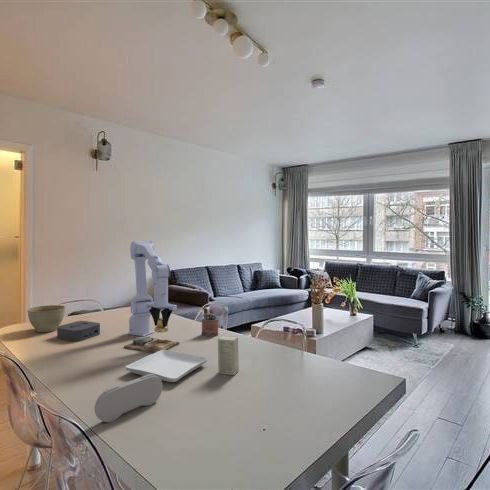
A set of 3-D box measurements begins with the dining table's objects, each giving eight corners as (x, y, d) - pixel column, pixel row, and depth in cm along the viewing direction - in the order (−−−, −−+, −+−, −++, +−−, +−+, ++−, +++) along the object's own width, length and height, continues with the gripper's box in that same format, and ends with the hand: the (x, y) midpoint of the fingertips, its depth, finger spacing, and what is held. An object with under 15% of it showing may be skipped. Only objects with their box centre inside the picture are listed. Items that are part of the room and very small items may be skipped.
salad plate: (209, 365, 130) (209, 356, 130) (175, 388, 111) (175, 378, 111) (163, 356, 139) (163, 348, 139) (123, 376, 120) (123, 366, 120)
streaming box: (80, 330, 175) (80, 320, 174) (102, 334, 169) (102, 323, 169) (54, 338, 161) (54, 327, 161) (77, 342, 156) (77, 331, 155)
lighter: (218, 334, 170) (219, 313, 170) (217, 336, 166) (217, 314, 166) (202, 333, 171) (202, 312, 170) (200, 335, 167) (200, 314, 167)
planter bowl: (72, 328, 177) (72, 307, 176) (38, 336, 163) (38, 313, 163) (54, 324, 185) (53, 303, 185) (21, 331, 172) (20, 309, 171)
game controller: (158, 397, 104) (158, 369, 104) (162, 400, 103) (162, 371, 103) (93, 424, 90) (93, 392, 89) (98, 427, 88) (98, 394, 88)
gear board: (124, 347, 148) (124, 342, 148) (146, 338, 161) (146, 333, 161) (159, 354, 141) (159, 348, 141) (179, 344, 154) (179, 338, 154)
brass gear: (151, 331, 149) (151, 320, 148) (159, 328, 154) (159, 316, 154) (163, 333, 147) (163, 321, 146) (170, 329, 152) (170, 318, 152)
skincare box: (238, 371, 125) (239, 336, 124) (234, 375, 120) (234, 340, 120) (222, 368, 127) (222, 334, 126) (217, 373, 122) (217, 338, 122)
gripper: (140, 293, 149) (140, 326, 149) (169, 296, 143) (169, 330, 143) (151, 291, 155) (151, 322, 156) (179, 293, 149) (179, 325, 150)
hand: (161, 325), depth 150 cm, fingers closed on brass gear, 4 cm apart
